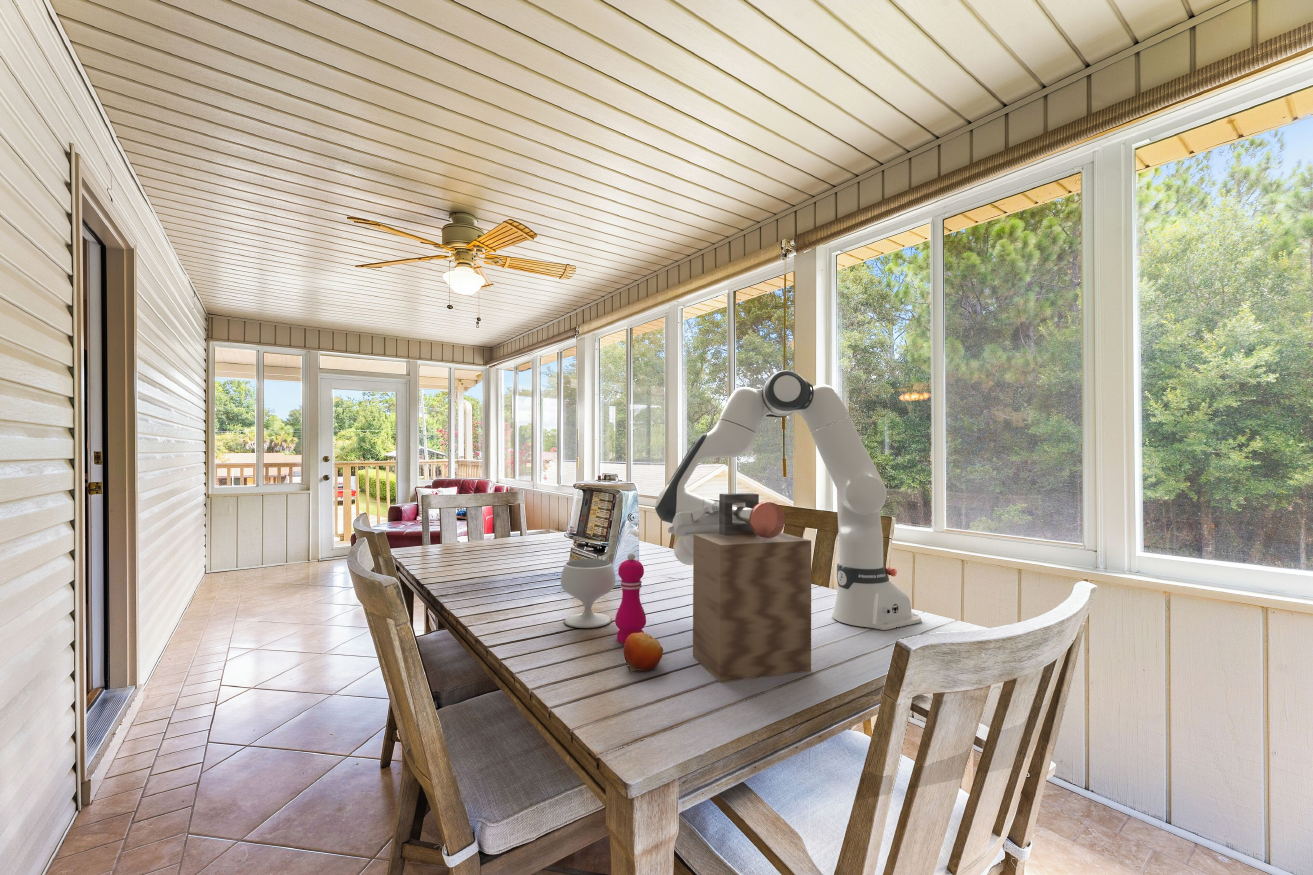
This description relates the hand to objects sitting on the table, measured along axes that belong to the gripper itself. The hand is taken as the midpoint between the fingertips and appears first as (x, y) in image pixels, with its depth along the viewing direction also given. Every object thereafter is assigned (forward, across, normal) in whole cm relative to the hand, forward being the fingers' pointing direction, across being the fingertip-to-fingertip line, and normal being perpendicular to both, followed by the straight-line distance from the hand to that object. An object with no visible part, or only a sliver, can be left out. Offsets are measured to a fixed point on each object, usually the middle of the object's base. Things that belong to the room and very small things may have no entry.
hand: (725, 508), depth 128 cm
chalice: (-36, -27, +14) cm, 48 cm away
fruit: (-8, -22, +31) cm, 39 cm away
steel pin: (+5, 0, +7) cm, 9 cm away
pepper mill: (-23, -20, +22) cm, 38 cm away
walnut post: (-4, 0, +33) cm, 33 cm away
